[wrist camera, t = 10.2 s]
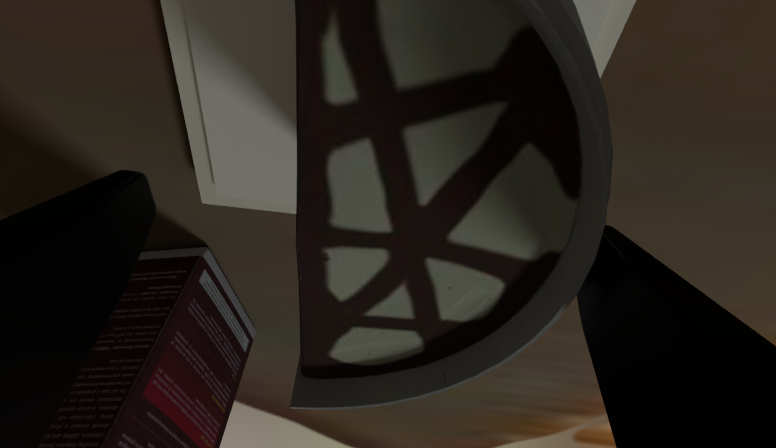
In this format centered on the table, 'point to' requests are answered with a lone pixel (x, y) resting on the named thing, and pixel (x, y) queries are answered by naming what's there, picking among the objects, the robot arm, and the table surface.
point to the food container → (439, 189)
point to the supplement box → (161, 361)
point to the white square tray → (272, 91)
